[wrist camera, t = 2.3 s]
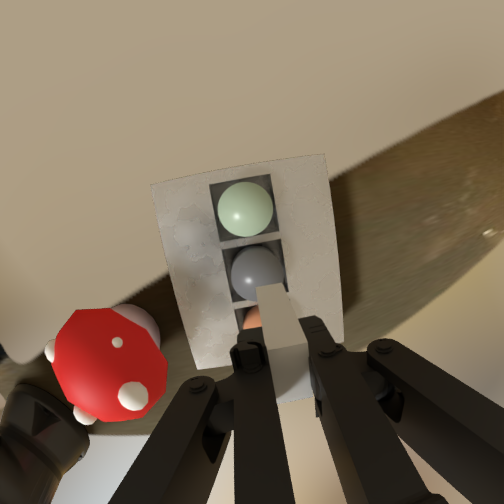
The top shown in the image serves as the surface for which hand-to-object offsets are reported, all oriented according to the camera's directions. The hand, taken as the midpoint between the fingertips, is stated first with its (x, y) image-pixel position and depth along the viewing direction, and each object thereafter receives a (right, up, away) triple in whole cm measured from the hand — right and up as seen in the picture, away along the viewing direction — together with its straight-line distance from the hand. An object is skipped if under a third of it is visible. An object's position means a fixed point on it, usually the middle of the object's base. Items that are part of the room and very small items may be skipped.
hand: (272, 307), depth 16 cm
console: (-1, +2, +11) cm, 11 cm away
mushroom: (-14, -5, +12) cm, 19 cm away
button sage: (-2, +7, +7) cm, 10 cm away
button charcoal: (-1, +2, +8) cm, 8 cm away
